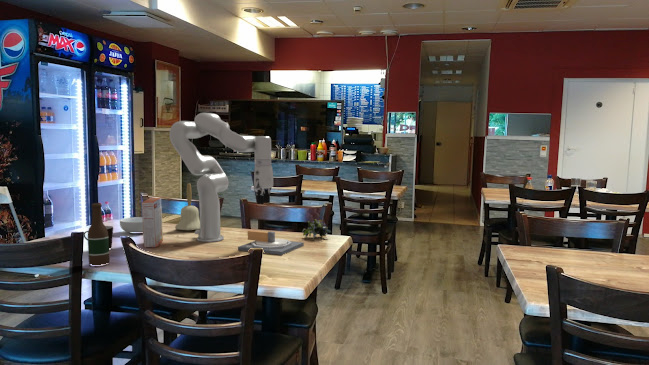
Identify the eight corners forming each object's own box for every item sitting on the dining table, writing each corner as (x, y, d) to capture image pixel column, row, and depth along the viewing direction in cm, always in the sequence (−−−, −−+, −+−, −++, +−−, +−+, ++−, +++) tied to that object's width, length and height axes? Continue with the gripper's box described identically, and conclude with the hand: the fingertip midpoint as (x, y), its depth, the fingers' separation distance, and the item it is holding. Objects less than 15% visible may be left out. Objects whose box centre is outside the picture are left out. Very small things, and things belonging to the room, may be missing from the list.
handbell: (168, 231, 261) (167, 183, 259) (189, 226, 275) (188, 181, 272) (191, 233, 254) (189, 185, 252) (211, 228, 268) (209, 182, 265)
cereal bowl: (147, 236, 249) (147, 222, 248) (114, 236, 249) (114, 222, 249) (159, 229, 266) (158, 216, 265) (128, 229, 266) (127, 216, 265)
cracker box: (150, 241, 236) (148, 197, 234) (163, 241, 237) (162, 197, 235) (142, 248, 222) (141, 201, 220) (156, 247, 223) (155, 201, 221)
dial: (239, 244, 221) (239, 232, 221) (257, 238, 234) (257, 227, 233) (276, 248, 213) (276, 236, 213) (292, 242, 226) (292, 230, 225)
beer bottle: (92, 262, 198) (89, 202, 195) (112, 261, 198) (110, 202, 196) (85, 267, 190) (82, 205, 188) (106, 266, 191) (103, 204, 188)
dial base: (238, 250, 218) (237, 244, 218) (262, 241, 236) (262, 236, 236) (281, 255, 209) (281, 249, 209) (303, 245, 227) (303, 240, 227)
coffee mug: (118, 248, 221) (117, 226, 220) (104, 253, 213) (103, 230, 212) (97, 246, 225) (96, 225, 224) (82, 251, 217) (81, 228, 216)
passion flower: (320, 247, 247) (335, 229, 245) (312, 248, 237) (327, 228, 235) (304, 233, 251) (318, 214, 249) (295, 233, 241) (310, 213, 239)
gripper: (260, 164, 217) (260, 206, 219) (279, 162, 233) (279, 201, 234) (245, 164, 220) (246, 205, 222) (265, 162, 236) (266, 200, 237)
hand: (263, 202), depth 228 cm, fingers open, 4 cm apart
